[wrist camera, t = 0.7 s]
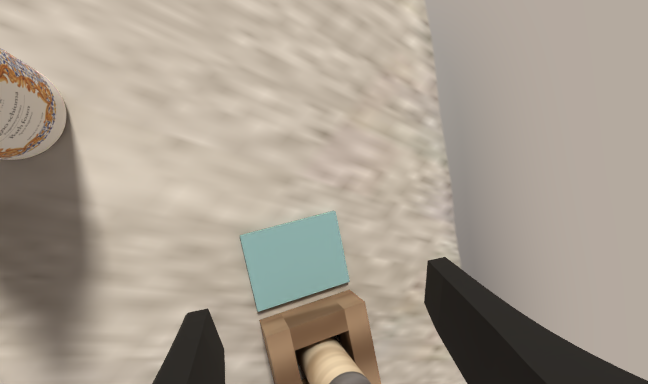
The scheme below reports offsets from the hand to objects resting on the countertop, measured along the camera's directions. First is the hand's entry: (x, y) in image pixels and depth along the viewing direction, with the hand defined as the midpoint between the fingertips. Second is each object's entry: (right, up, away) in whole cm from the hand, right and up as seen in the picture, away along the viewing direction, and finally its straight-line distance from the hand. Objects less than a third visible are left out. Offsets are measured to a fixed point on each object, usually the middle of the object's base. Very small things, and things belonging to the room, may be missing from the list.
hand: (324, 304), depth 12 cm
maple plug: (-1, -11, +23) cm, 25 cm away
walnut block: (-1, -11, +23) cm, 25 cm away
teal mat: (-3, -3, +21) cm, 22 cm away
